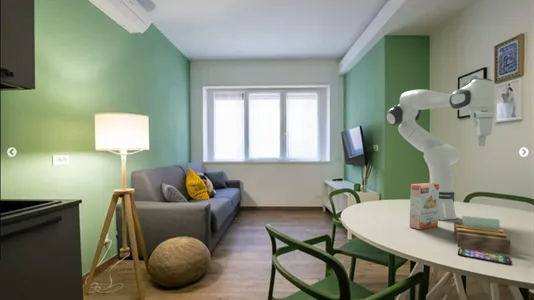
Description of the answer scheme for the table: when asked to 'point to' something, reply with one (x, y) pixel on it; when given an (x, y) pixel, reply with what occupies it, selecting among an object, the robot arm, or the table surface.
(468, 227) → the panel
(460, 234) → the rack
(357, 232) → the table surface
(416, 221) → the cracker box
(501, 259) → the smartphone
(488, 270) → the table surface
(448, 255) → the table surface
